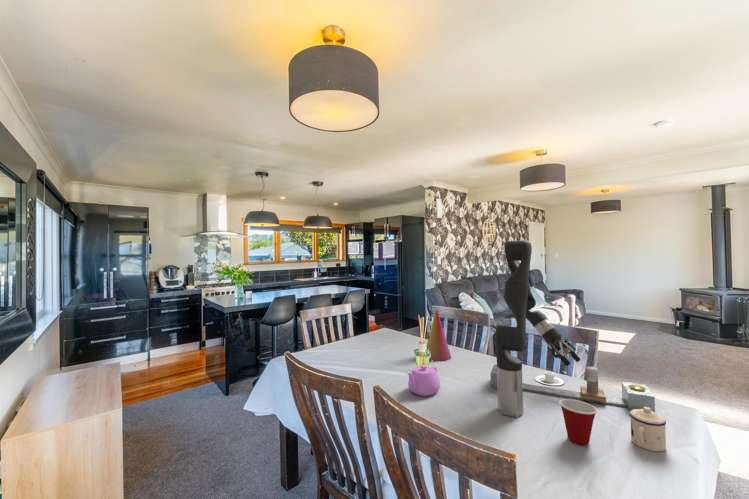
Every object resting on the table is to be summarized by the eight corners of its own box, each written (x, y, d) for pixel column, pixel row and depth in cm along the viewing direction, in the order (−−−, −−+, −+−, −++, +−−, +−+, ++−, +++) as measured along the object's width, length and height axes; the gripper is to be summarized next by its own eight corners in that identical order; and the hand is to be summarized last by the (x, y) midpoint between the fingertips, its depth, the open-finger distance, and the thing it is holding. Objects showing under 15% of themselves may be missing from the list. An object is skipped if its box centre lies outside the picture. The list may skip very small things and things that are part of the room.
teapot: (425, 381, 159) (425, 357, 159) (448, 390, 149) (447, 364, 149) (396, 394, 146) (396, 368, 146) (419, 404, 136) (418, 376, 136)
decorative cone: (418, 357, 196) (417, 307, 197) (435, 351, 207) (433, 303, 207) (440, 363, 184) (439, 310, 185) (456, 356, 195) (455, 306, 195)
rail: (655, 415, 123) (654, 395, 123) (490, 388, 150) (490, 371, 150) (646, 401, 134) (645, 383, 134) (494, 378, 161) (494, 363, 161)
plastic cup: (605, 443, 106) (604, 406, 106) (587, 454, 101) (586, 415, 101) (571, 428, 116) (570, 394, 116) (553, 437, 110) (552, 402, 110)
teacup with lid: (635, 433, 112) (634, 398, 112) (670, 445, 104) (669, 409, 105) (622, 445, 105) (621, 409, 105) (659, 460, 97) (658, 421, 98)
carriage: (606, 402, 131) (605, 373, 131) (582, 398, 135) (581, 370, 135) (602, 393, 139) (601, 366, 139) (580, 390, 143) (579, 363, 143)
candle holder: (531, 382, 157) (531, 373, 157) (540, 375, 166) (540, 366, 166) (559, 389, 149) (559, 379, 149) (566, 381, 157) (566, 372, 157)
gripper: (544, 329, 147) (571, 361, 137) (561, 325, 155) (588, 355, 145) (533, 338, 152) (559, 370, 142) (550, 333, 159) (576, 364, 149)
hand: (573, 362), depth 143 cm, fingers open, 8 cm apart
